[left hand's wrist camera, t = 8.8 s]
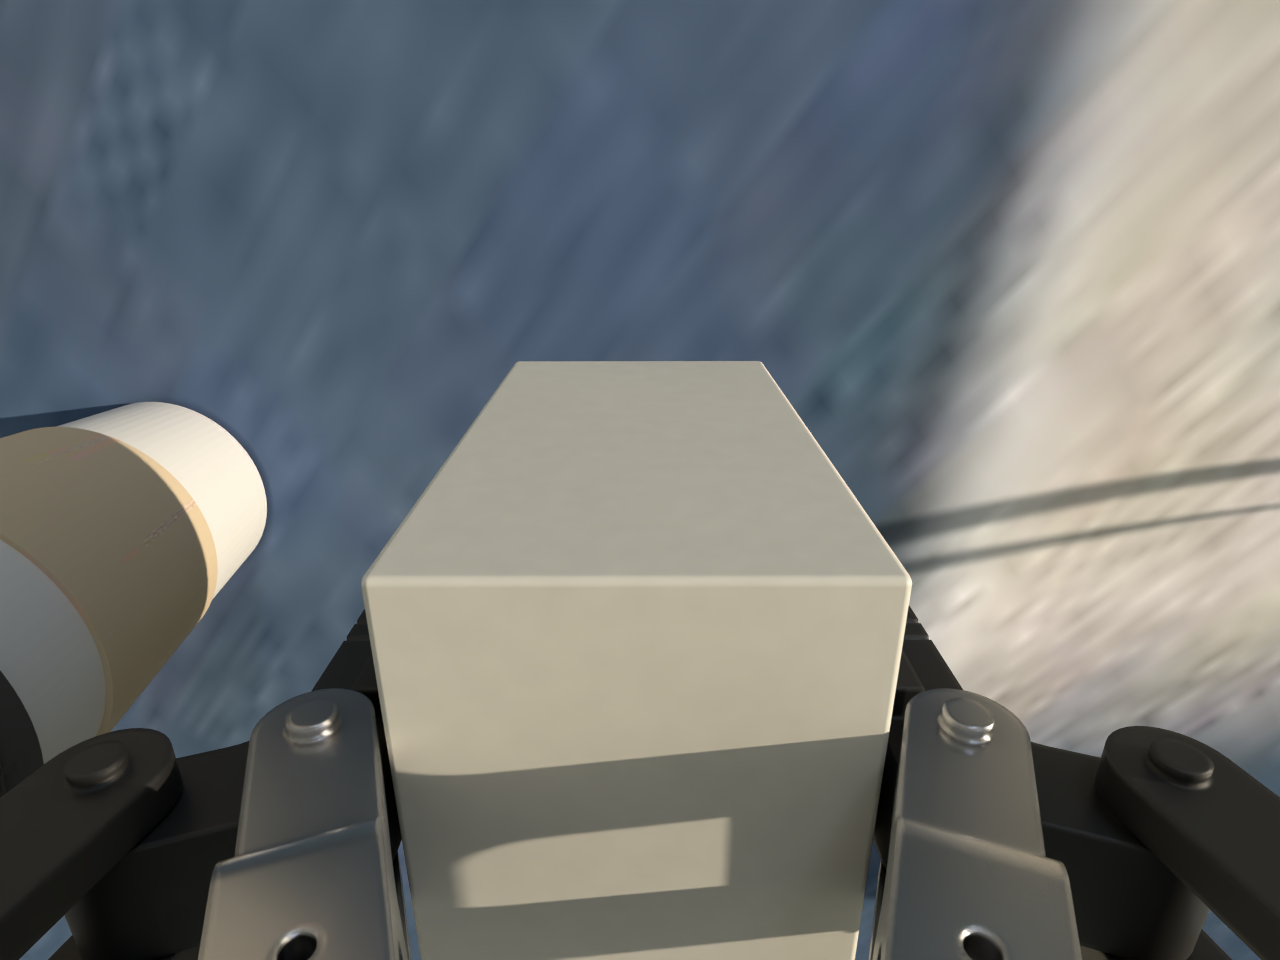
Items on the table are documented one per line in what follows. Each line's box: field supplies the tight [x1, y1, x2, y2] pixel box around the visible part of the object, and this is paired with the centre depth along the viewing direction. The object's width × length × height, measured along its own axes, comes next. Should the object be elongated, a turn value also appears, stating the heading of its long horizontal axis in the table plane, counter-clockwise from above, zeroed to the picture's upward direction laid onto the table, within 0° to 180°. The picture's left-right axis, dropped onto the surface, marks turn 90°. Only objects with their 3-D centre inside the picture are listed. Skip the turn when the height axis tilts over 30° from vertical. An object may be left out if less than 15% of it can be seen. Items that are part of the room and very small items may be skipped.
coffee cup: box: [0, 402, 267, 797], centre depth 20 cm, size 9×9×15 cm
